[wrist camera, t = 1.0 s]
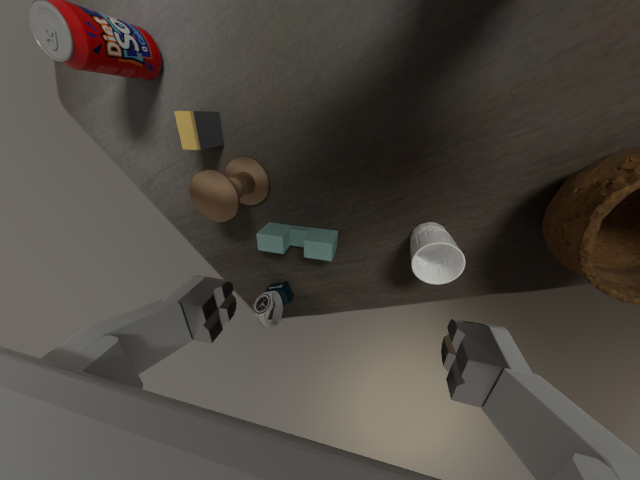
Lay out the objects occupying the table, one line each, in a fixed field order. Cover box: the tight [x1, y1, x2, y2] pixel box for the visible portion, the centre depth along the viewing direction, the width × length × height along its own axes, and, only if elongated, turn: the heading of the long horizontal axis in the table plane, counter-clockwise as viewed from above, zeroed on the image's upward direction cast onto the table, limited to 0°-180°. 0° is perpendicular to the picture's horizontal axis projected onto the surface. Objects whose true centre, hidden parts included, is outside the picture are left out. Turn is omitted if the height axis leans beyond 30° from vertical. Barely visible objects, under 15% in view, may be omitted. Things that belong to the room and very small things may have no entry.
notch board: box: [256, 222, 338, 261], centre depth 51 cm, size 4×16×6 cm, turn 89°
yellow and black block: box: [174, 111, 224, 150], centre depth 45 cm, size 6×3×8 cm, turn 179°
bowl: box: [542, 146, 640, 305], centre depth 32 cm, size 19×19×15 cm
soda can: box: [28, 0, 161, 80], centre depth 38 cm, size 8×8×15 cm
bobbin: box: [190, 157, 270, 222], centre depth 46 cm, size 10×10×12 cm
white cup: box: [410, 222, 465, 284], centre depth 43 cm, size 8×8×10 cm
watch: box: [253, 282, 294, 327], centre depth 58 cm, size 6×8×11 cm
